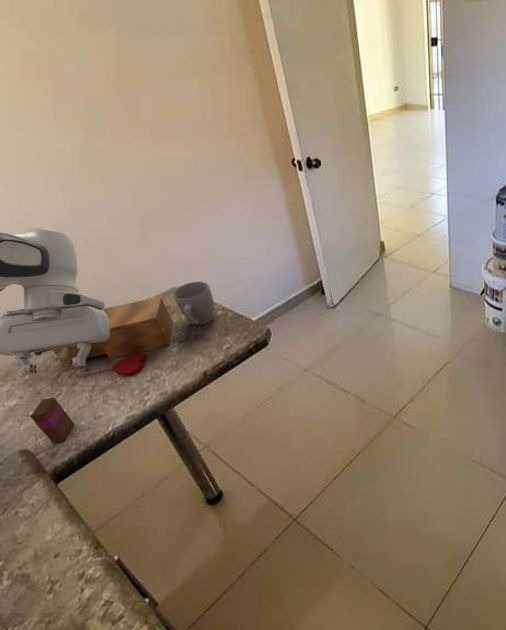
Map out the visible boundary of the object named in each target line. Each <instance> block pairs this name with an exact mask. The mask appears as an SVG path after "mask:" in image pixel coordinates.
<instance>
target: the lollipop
mask: <svg viewBox="0 0 506 630" xmlns="http://www.w3.org/2000/svg"><path fill="white" fill-rule="evenodd" d="M146 359H147V354H146V353H145V352H144V351H143V352H137V353H133V354H131V355H127V356H124V357H122V358H121V359H120V360H118V361H117V362H115V363H114V364H113V365H112V366H110V367H104V368H100V369H96V370H91V371H86V372H81V373H76V374H75V375H74V376H75V377H79V376H83V375H89V374H92V373H97V372H98V373H99V372H101V371H107V370H112V371H113V372H115V373H116V374H118V375H119V376H120V375H121V376H131V375H135V374H137V373H138V372H140V371H141V370H142V368H143V366H144V364H143V362H144V361H145V360H146Z"/></svg>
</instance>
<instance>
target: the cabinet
mask: <svg viewBox="0 0 506 630" xmlns="http://www.w3.org/2000/svg"><path fill="white" fill-rule="evenodd" d="M102 311H104V312H105V313H106V314H107V317H108V321H109V329H110V336H109V338H108V339H107V340H106V341H104V342H100V343H101V345H102V347H103V348H104V350H105V352H106V353H107V354H106V355H107V357H108V358H109V360H115V359H119V358H124V357H126V356H129V355H131V354H133V353H137V352H143V353H144V352H147V351H151V350H155V349H158V348H163V347H168V346H170V344H171V338H172V331H173V325H174V321H173V319H172V316H171V315H170V313H169V310H168V309H167V306H166V305H165V302H164V300H163V298H162V296H156V297H151V298H147V299H142V300H138V301H137V300H136V301H134V302H128V303H125V304H120V305H115V306H110V307H104V309H103V310H102Z"/></svg>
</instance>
